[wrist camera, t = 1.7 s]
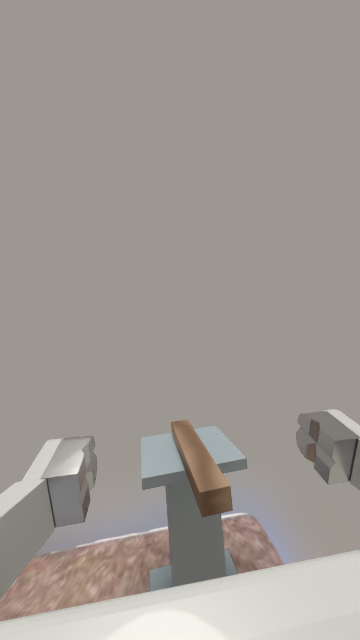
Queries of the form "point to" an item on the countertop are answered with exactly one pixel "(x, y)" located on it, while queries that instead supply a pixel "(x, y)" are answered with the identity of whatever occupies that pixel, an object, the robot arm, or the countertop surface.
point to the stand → (189, 510)
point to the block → (201, 471)
